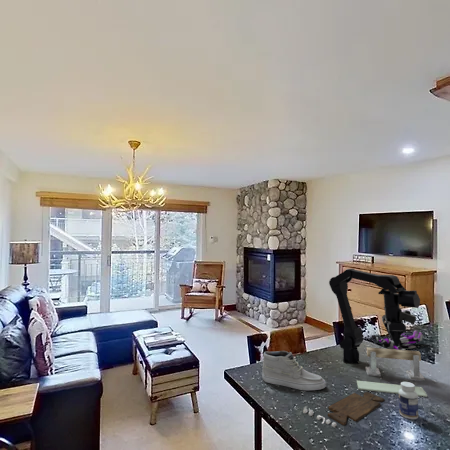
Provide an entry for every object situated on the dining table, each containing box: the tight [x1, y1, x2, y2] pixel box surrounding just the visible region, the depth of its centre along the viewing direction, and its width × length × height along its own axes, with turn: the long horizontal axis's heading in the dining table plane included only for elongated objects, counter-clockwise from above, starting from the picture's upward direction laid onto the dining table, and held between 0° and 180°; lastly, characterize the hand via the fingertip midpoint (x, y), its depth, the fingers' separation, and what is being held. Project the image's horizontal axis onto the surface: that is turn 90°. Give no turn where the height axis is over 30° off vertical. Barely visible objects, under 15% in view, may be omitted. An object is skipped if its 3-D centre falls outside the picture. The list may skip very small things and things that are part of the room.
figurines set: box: [302, 406, 337, 428], centre depth 103 cm, size 12×3×3 cm, turn 40°
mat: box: [356, 380, 428, 398], centre depth 123 cm, size 23×7×1 cm, turn 73°
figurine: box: [371, 330, 424, 350], centre depth 173 cm, size 24×7×29 cm
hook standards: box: [365, 351, 426, 382], centre depth 137 cm, size 21×7×10 cm, turn 73°
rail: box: [366, 346, 422, 362], centre depth 137 cm, size 20×3×3 cm, turn 73°
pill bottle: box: [398, 381, 419, 420], centre depth 105 cm, size 5×5×10 cm
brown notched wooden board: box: [327, 391, 385, 426], centre depth 110 cm, size 26×2×10 cm
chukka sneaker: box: [261, 350, 327, 391], centre depth 129 cm, size 9×25×12 cm, turn 70°
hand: (394, 343), depth 137 cm, fingers open, 9 cm apart
